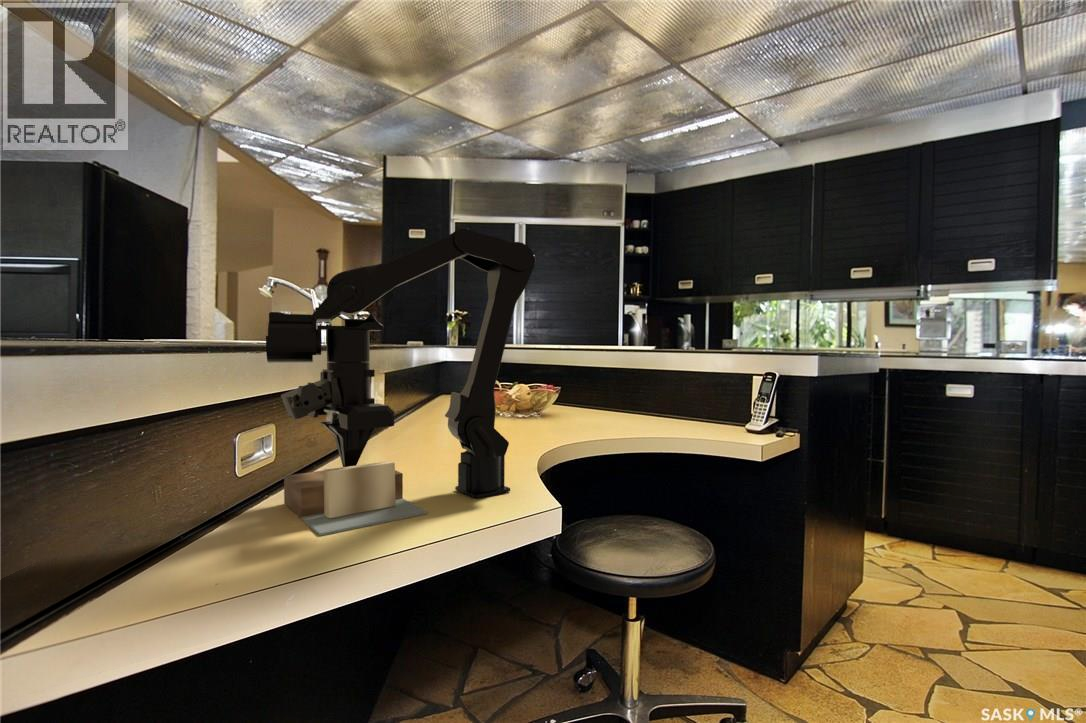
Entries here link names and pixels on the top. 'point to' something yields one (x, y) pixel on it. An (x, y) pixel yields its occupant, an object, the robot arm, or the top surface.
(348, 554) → the top surface
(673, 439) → the top surface
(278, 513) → the top surface
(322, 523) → the mat
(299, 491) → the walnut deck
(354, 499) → the pale maple block
